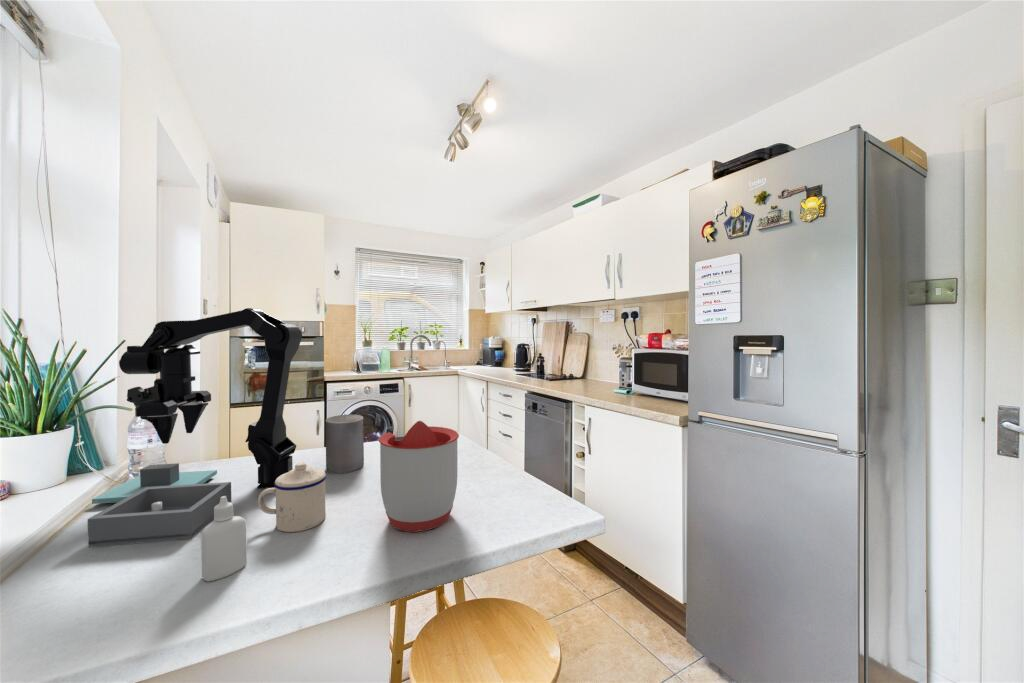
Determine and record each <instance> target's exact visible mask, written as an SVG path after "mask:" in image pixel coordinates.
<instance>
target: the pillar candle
mask: <svg viewBox="0 0 1024 683" xmlns="http://www.w3.org/2000/svg"><path fill="white" fill-rule="evenodd" d="M364 440H365V439H364V416H362V415H360V414H346V413H344V414H340V415H334V416H331V417H328V418H325V470H326V472H328V473H330V474H346V473H347V474H348V473H351V472H354V471H356V470H359V469H362V468H363V467H364V465H365V458H364V454H365V453H364V450H365V449H364V448H365V447H364V444H365V443H364Z"/></svg>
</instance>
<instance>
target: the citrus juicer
mask: <svg viewBox="0 0 1024 683" xmlns="http://www.w3.org/2000/svg"><path fill="white" fill-rule="evenodd" d="M459 436H460V434H459V433H458V432H457V430H454V429H451V428H447V427H442V426H429V425H427V424H426V423H425V422H424V421H422V420H417V421H416V422H415V423H414V424H412V426H411V427H410V428H409V430H407V432H406V433H405V435H404V436H403V437H404V438H403V440H395V437H396V435H395V434H393V433H392V432H390V431H387V432H386V433H384V434H382V435H381V436H380V437H379V438H378V442H379V445H380V447H379V448H380V451H379V453H380V458H379V460H380V463H379V464H380V468H379V469H380V471H379V472H380V493H381V498H382V502H383V503H382V504H383V507H384V510H385V514H386V516H387V519H388V521H389V523H390V524H391V526H392V527H394V528H395V529H397V530H400V531H404V532H410V533H417V532H422V531H428V530H431V529H432V530H433V529H434V528H437V527H439V526H441V525H442V524H444V523H445V522H446V521H447V520H448V519H449V517H450V515H451V512H452V510H453V507H454V502H455V498H456V497H455V496H456V492H457V486H458V439H459V438H460V437H459Z"/></svg>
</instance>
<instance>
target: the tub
mask: <svg viewBox="0 0 1024 683" xmlns="http://www.w3.org/2000/svg"><path fill="white" fill-rule="evenodd" d="M222 496H226V498H227V501H228V502H231V503H232V482H231V481H225V482H210V483H209V482H208V483H203V484H190V485H174V486H158V487H145V488H144V489H142V490H140V491H138V492H136V493H134V494H133V495H131V496H129V497H127V498H125V499H123V500H122V501H120V502H118V503H113V505H111V506H109V507H107V508H105V509H103V510H101V511H100V512H98V513H96V514H94V515H93V516H91V517H89V518H87V544H88V545H87V547H88V548H95V547H96V548H97V547H107V546H119V545H121V546H122V545H130V544H131V545H133V544H142V543H143V544H144V543H153V542H155V543H157V542H167V541H168V542H169V541H179V540H189V539H190V540H191V539H194V538H195V537H196V536H197V535H198V534H199V533H201V532H202V530H203V529H204V528H205V527H206V526H207V525H209V524H210V523H212V522H213V521H214V507H215V506H216V505H218V504H219V503H220V498H221V497H222Z"/></svg>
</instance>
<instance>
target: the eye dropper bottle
mask: <svg viewBox="0 0 1024 683" xmlns="http://www.w3.org/2000/svg"><path fill="white" fill-rule="evenodd" d="M200 533H201V534H200V547H201V548H200V551H201V552H200V553H201V555H200V556H201V559H200V560H201V577H202V579H203V580H204V581H206V582H212V581H216V580H220V579H223V578H225V577H228V576H230V575H233V574H235V573H237V572H239V571H241V570H242V569H243V568H244V567H246V566H247V561H248V559H247V558H248V557H247V556H248V555H247V522H246V520H245V518H243V517H242V516H239V515H234V503H233V502H232V501H231V502H228V501H227V498H226V496H222V497H221V498H220V503H219V504H218V505H216V506H215V507H214V520H213V521H212V522H211V523H210V524H209V525H207V526H206V527H205V528H204V529H203V530H202V531H200Z"/></svg>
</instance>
